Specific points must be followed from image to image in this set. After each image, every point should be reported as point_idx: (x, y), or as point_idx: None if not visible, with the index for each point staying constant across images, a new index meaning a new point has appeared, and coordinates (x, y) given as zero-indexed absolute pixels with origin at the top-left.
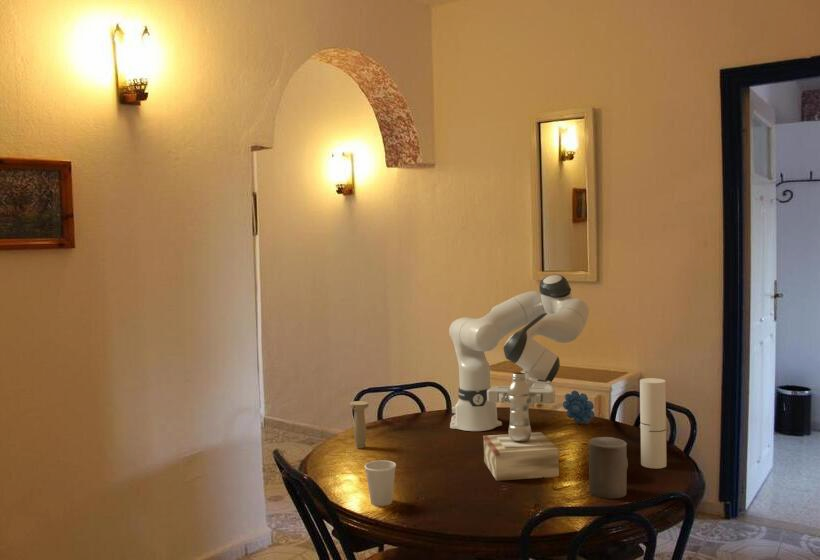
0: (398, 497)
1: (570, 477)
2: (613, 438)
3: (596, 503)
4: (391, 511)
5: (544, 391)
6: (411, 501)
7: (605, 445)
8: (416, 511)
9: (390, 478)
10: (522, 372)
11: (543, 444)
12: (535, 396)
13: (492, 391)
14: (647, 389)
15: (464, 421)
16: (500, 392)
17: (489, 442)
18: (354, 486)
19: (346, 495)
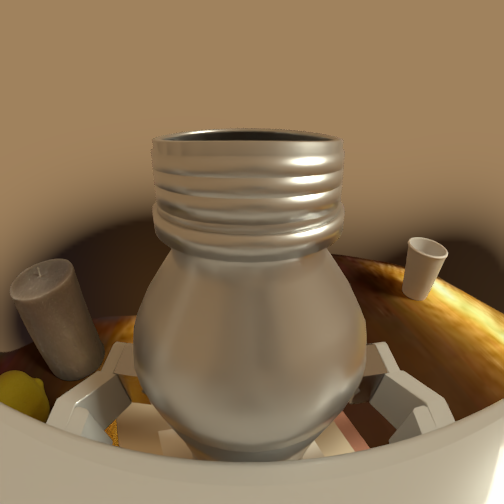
0: (409, 306)
1: (115, 435)
2: (17, 292)
3: (111, 322)
4: (385, 277)
5: (6, 415)
6: (386, 299)
7: (57, 262)
8: (360, 280)
9: (407, 255)
10: (183, 141)
11: (154, 450)
12: (105, 375)
13: (502, 399)
14: None
15: None
16: (452, 425)
17: (362, 445)
18: (478, 319)
19: (460, 298)
